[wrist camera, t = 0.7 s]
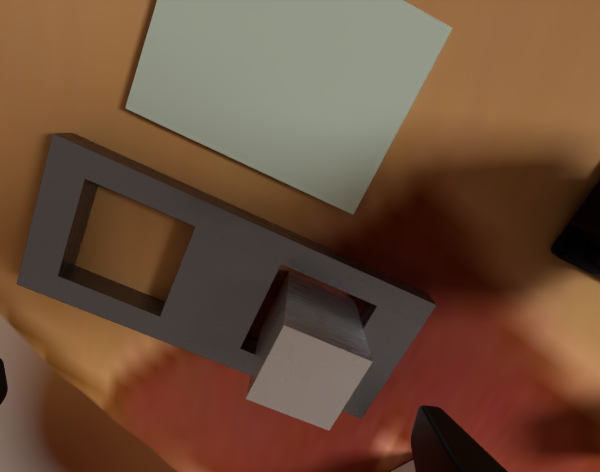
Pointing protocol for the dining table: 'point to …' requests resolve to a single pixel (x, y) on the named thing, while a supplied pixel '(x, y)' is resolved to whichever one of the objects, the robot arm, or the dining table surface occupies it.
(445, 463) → the robot arm
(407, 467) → the medicine bottle
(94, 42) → the dining table surface
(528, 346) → the dining table surface
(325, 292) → the steel peg
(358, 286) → the grey flat frame
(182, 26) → the sage mat
